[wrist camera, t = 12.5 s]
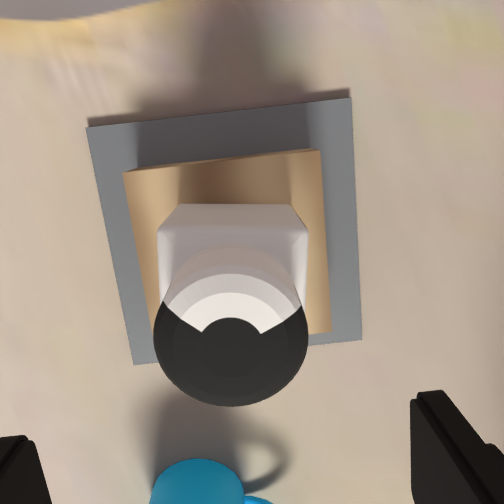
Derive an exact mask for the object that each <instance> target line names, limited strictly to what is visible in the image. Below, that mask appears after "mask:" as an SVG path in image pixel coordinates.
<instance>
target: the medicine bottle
mask: <svg viewBox="0 0 504 504" xmlns="http://www.w3.org/2000/svg"><path fill="white" fill-rule="evenodd" d="M308 243H309V232H308V229H307V227H306V226H305V225H304V223H303V222H302V220H301V219H300V217H299V216H298V215H297V213H296V212H295V210H294V209H293V207H292V206H291V205H288V204H179V205H178V206H177V207H176V208H175V210H174V211H173V212H172V213H171V214H170V215H169V216H168V217H167V219H166V220H165V221H164V222H163V223H162V224H161V225H160V227H159V228H158V229H157V253H158V273H159V293H160V307H159V309H158V312H157V315H156V318H155V322H154V328H153V342H154V350H155V353H156V356H157V359H158V362H159V364H160V366H161V368H162V369H163V371H164V373H165V374H166V376H167V377H168V378H169V379H170V380H171V381H172V383H173V384H174V385H176V386H177V387H178V388H179V389H180V390H181V391H183V392H184V393H186V394H187V395H189V396H191V397H193V398H195V399H197V400H199V401H202V402H205V403H208V404H212V405H217V406H227V407H234V406H244V405H250V404H253V403H257V402H260V401H262V400H265V399H267V398H269V397H271V396H273V395H274V394H276V393H278V392H279V391H280V390H281V389H283V388H284V387H285V386H286V385H287V384H288V383H289V382H290V381H291V380H292V379H293V378H294V376H295V375H296V374H297V372H298V371H299V369H300V367H301V365H302V363H303V361H304V358H305V355H306V352H307V347H308V337H309V333H308V324H307V320H306V316H305V308H306V286H307V265H308Z"/></svg>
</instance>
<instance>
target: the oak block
mask: <svg viewBox="0 0 504 504" xmlns="http://www.w3.org/2000/svg"><path fill="white" fill-rule="evenodd" d="M122 175H123V180H124V185H125V191H126V196H127V202H128V207H129V212H130V218H131V223H132V228H133V234H134V239H135V244H136V250H137V255H138V260H139V266H140V271H141V276H142V282H143V287H144V292H145V298H146V303H147V309H148V314H149V319H150V325H151V330H152V335H153V328H154V322H155V318H156V315H157V312H158V309H159V307H160V293H159V273H158V253H157V229H158V228H159V227H160V225H161V224H162V223H163V222H164V221H165V220H166V219H167V217H168V216H169V215H170V214H171V213H172V212H173V211H174V210H175V208H176V207H177V206H178V205H179V204H288V205H291V206H292V207H293V209H294V210H295V212H296V213H297V215H298V216H299V217H300V219H301V220H302V222H303V223H304V225H305V226H306V227H307V229H308V232H309V243H308V265H307V286H306V308H305V316H306V320H307V324H308V333H309V334H317V333H326V332H332V323H331V308H330V292H329V277H328V262H327V247H326V231H325V216H324V201H323V185H322V170H321V155H320V150H317V149H312V148H307V149H298V150H289V151H281V152H272V153H263V154H254V155H245V156H236V157H227V158H219V159H210V160H201V161H192V162H183V163H174V164H166V165H157V166H148V167H139V168H135V169H132V170H129V171H126V172H123V173H122Z"/></svg>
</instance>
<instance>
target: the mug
mask: <svg viewBox="0 0 504 504" xmlns="http://www.w3.org/2000/svg"><path fill="white" fill-rule="evenodd" d="M149 504H273V503H271V502H269V501H267V500H265V499H262V498H258V497H254V496H245V494H244V490H243V486H242V483H241V481H240V480H239V478H238V477H237V475H236V474H235V473H234V472H233V471H232V470H230V469H229V468H228V467H226V466H225V465H223V464H221V463H218V462H215V461H212V460H209V459H196V458H195V459H189V460H184V461H180V462H178V463H176V464H174V465H172V466H170V467H168V468H167V469H166V470H165V471H164V472H163V473H162V474H161V475H160V476H159V477H158V479H157V481H156V483H155V485H154V487H153V490H152V494H151V498H150V502H149Z"/></svg>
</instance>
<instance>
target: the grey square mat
mask: <svg viewBox="0 0 504 504" xmlns="http://www.w3.org/2000/svg"><path fill="white" fill-rule="evenodd" d="M86 133H87V138H88V143H89V148H90V153H91V158H92V163H93V168H94V172H95V177H96V182H97V187H98V192H99V197H100V202H101V207H102V212H103V217H104V222H105V227H106V231H107V236H108V241H109V246H110V251H111V256H112V261H113V266H114V271H115V276H116V281H117V285H118V290H119V295H120V300H121V305H122V310H123V315H124V320H125V325H126V330H127V335H128V339H129V344H130V349H131V354H132V359H133V364H134V365H139V364H149V363H158V359H157V356H156V353H155V350H154V342H153V335H152V330H151V325H150V319H149V314H148V309H147V303H146V298H145V292H144V287H143V282H142V276H141V271H140V266H139V260H138V255H137V250H136V244H135V239H134V234H133V228H132V223H131V218H130V212H129V207H128V202H127V196H126V191H125V185H124V180H123V175H122V173H123V172H126V171H129V170H132V169H135V168H139V167H148V166H157V165H166V164H174V163H183V162H192V161H201V160H210V159H219V158H227V157H236V156H245V155H254V154H263V153H272V152H281V151H289V150H298V149H307V148H312V149H317V150H320V155H321V170H322V185H323V201H324V216H325V231H326V247H327V262H328V277H329V292H330V308H331V323H332V332H326V333H317V334H309V337H308V346H312V345H321V344H330V343H339V342H348V341H357V340H362V325H361V303H360V281H359V259H358V237H357V215H356V193H355V171H354V149H353V127H352V105H351V98H342V99H334V100H325V101H316V102H307V103H298V104H290V105H281V106H272V107H263V108H254V109H246V110H237V111H228V112H219V113H210V114H202V115H193V116H184V117H175V118H166V119H158V120H149V121H140V122H131V123H122V124H114V125H105V126H96V127H87V128H86Z"/></svg>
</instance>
